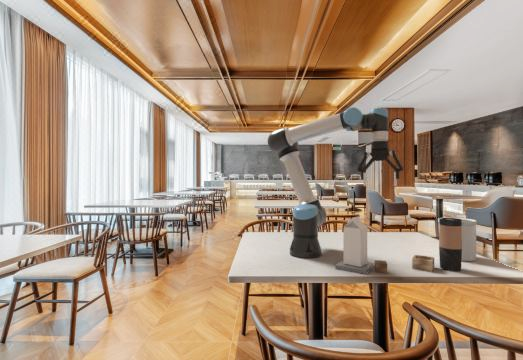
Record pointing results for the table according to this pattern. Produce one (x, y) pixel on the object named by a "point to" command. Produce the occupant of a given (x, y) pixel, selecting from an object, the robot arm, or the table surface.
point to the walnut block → (380, 267)
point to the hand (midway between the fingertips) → (379, 186)
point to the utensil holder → (468, 239)
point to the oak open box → (423, 263)
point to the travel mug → (450, 243)
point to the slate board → (355, 267)
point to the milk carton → (355, 243)
